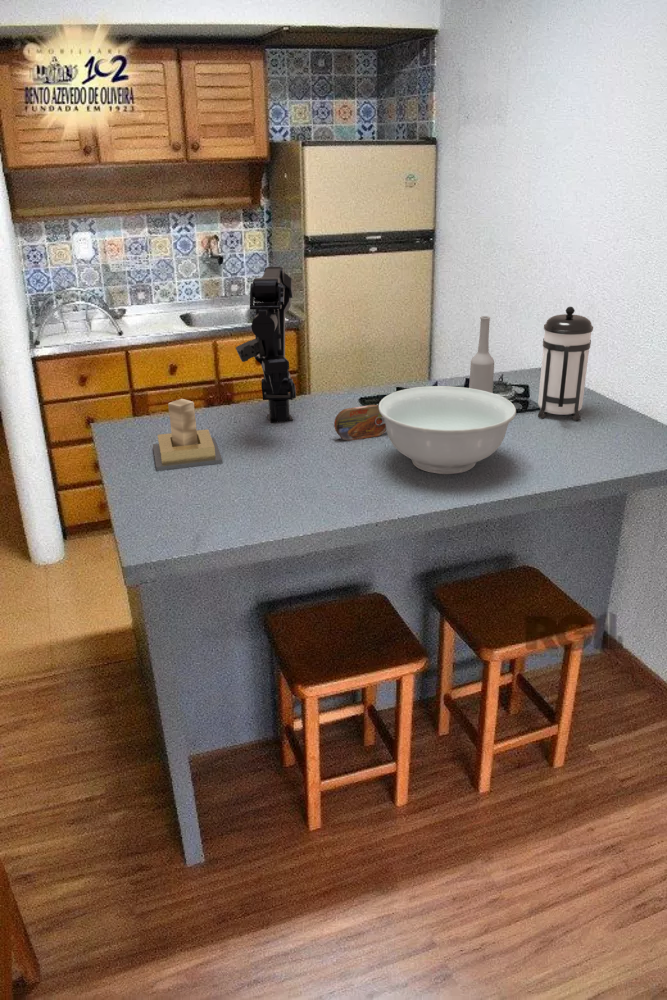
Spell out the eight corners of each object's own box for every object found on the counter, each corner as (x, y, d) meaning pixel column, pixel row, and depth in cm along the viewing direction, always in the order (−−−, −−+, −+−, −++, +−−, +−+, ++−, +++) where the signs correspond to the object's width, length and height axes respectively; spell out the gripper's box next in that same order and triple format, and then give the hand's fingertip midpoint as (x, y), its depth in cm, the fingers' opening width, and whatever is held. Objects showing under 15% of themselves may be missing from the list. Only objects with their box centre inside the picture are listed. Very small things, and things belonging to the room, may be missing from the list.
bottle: (465, 419, 217) (471, 319, 205) (469, 412, 223) (474, 313, 211) (489, 421, 215) (496, 320, 203) (492, 413, 221) (499, 314, 209)
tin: (337, 442, 203) (336, 412, 199) (333, 438, 206) (332, 408, 202) (390, 435, 207) (390, 405, 204) (385, 431, 210) (386, 401, 206)
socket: (153, 447, 202) (151, 433, 200) (214, 441, 206) (213, 426, 204) (156, 470, 188) (154, 455, 186) (222, 463, 192) (221, 448, 190)
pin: (187, 447, 199) (181, 398, 194) (198, 451, 197) (193, 401, 191) (173, 452, 196) (168, 403, 191) (185, 456, 194) (179, 406, 188)
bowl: (540, 470, 184) (546, 411, 178) (429, 501, 170) (431, 438, 163) (456, 430, 209) (458, 377, 203) (353, 454, 195) (352, 398, 189)
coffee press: (518, 410, 223) (526, 305, 210) (562, 402, 229) (573, 299, 216) (557, 429, 208) (570, 317, 196) (604, 419, 214) (618, 310, 202)
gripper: (231, 324, 203) (236, 382, 209) (242, 340, 186) (247, 402, 193) (273, 320, 205) (276, 378, 212) (288, 336, 189) (291, 398, 195)
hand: (272, 388), depth 203 cm, fingers open, 9 cm apart
